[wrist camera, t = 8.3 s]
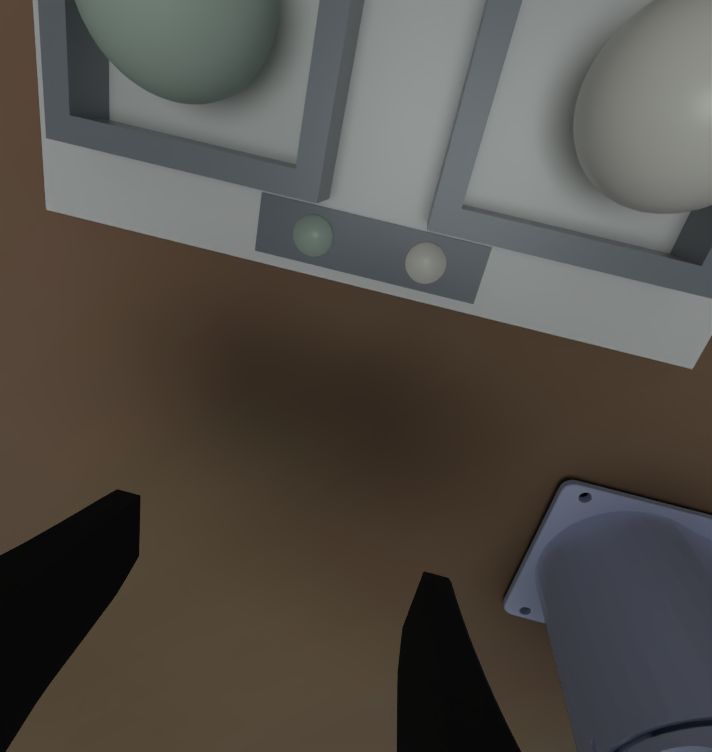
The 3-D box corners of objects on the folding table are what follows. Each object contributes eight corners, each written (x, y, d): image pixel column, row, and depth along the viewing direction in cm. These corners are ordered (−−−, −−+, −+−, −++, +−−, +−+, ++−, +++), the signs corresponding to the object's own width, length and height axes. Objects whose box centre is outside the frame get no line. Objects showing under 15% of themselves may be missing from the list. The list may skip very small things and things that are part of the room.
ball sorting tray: (958, -151, 12) (1115, -242, 9) (678, 358, 18) (723, 394, 15) (38, -338, 13) (-67, -472, 10) (64, 207, 19) (3, 215, 16)
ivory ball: (715, 33, 14) (941, 0, 10) (634, 212, 16) (791, 249, 12) (580, -31, 12) (786, -105, 8) (509, 179, 14) (642, 208, 10)
